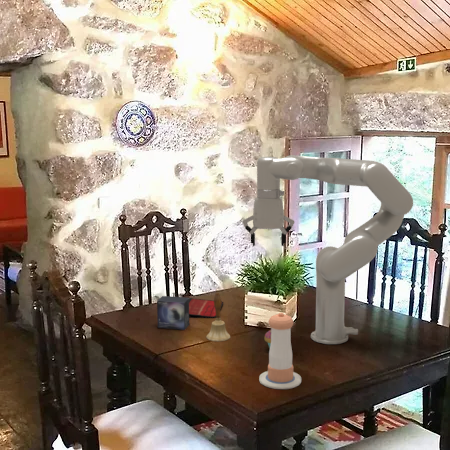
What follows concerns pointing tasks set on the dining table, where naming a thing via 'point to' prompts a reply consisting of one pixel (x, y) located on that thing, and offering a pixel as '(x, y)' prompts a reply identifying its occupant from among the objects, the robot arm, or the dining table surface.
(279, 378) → the pepper shaker
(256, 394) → the dining table surface
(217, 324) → the hand bell
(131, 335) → the dining table surface
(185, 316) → the small box
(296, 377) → the coaster
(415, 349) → the dining table surface
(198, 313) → the binder
